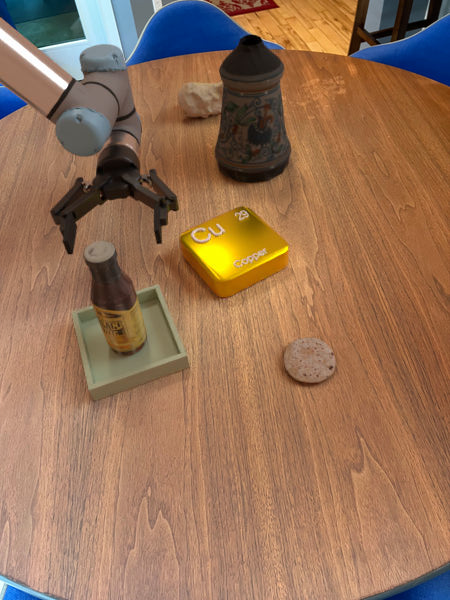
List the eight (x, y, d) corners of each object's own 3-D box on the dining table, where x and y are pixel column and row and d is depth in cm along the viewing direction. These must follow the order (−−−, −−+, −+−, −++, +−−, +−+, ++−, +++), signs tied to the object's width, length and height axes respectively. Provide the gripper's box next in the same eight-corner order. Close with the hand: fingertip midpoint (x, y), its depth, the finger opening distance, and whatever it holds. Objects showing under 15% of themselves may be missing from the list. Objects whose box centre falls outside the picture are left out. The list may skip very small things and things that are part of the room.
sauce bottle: (100, 346, 75) (59, 254, 60) (128, 320, 78) (95, 226, 63) (131, 365, 72) (96, 274, 57) (158, 337, 75) (131, 244, 60)
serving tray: (76, 323, 79) (71, 311, 77) (161, 295, 82) (158, 283, 79) (94, 401, 69) (88, 390, 67) (190, 367, 72) (187, 355, 70)
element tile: (220, 302, 80) (218, 283, 76) (178, 252, 88) (174, 232, 85) (293, 265, 84) (294, 244, 81) (245, 220, 93) (245, 200, 89)
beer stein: (234, 192, 99) (227, 70, 80) (199, 148, 111) (185, 32, 92) (304, 169, 103) (313, 47, 84) (263, 128, 115) (262, 13, 96)
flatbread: (334, 387, 68) (335, 384, 67) (281, 381, 69) (281, 377, 68) (335, 341, 73) (336, 337, 72) (286, 336, 74) (286, 332, 73)
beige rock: (169, 125, 122) (192, 106, 109) (166, 96, 122) (188, 72, 108) (222, 127, 129) (250, 108, 116) (219, 99, 129) (247, 77, 115)
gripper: (190, 172, 89) (198, 251, 75) (56, 188, 88) (38, 270, 74) (185, 136, 83) (192, 213, 69) (42, 152, 83) (20, 233, 69)
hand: (112, 242), depth 72 cm, fingers open, 13 cm apart
